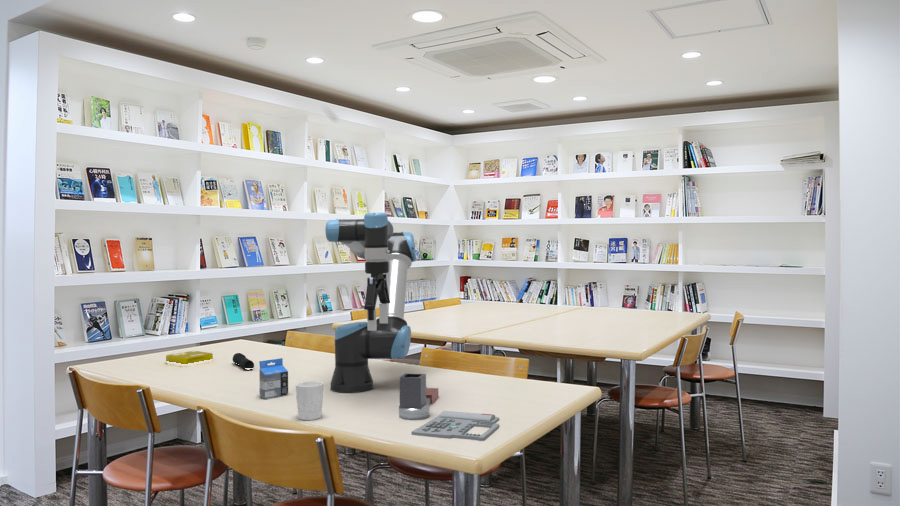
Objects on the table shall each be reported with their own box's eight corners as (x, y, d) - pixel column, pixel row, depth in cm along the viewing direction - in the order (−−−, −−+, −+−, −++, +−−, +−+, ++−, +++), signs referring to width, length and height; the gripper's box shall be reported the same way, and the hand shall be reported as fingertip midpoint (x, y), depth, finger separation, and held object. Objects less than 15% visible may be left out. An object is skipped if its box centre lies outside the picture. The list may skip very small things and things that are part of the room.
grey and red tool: (425, 420, 184) (425, 396, 184) (395, 419, 185) (395, 395, 185) (445, 397, 212) (445, 376, 212) (419, 396, 214) (419, 375, 214)
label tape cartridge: (264, 399, 212) (264, 362, 212) (259, 397, 215) (258, 361, 215) (288, 395, 218) (288, 359, 218) (283, 393, 221) (282, 357, 221)
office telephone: (443, 407, 192) (508, 412, 184) (444, 416, 192) (508, 421, 184) (411, 426, 170) (482, 433, 163) (411, 436, 170) (482, 443, 163)
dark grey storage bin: (421, 409, 185) (420, 378, 185) (399, 408, 187) (399, 377, 187) (426, 403, 192) (425, 373, 192) (405, 402, 193) (405, 373, 193)
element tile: (184, 368, 273) (184, 357, 273) (164, 365, 282) (164, 354, 282) (214, 362, 286) (214, 352, 286) (194, 359, 294) (194, 349, 294)
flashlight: (243, 363, 282) (243, 352, 282) (255, 370, 265) (255, 358, 265) (232, 364, 280) (231, 353, 280) (242, 372, 262) (242, 360, 262)
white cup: (298, 414, 193) (298, 381, 192) (325, 413, 193) (324, 380, 193) (294, 421, 185) (293, 387, 185) (322, 420, 185) (321, 386, 185)
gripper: (377, 263, 191) (378, 333, 192) (397, 258, 216) (398, 320, 217) (353, 263, 192) (354, 333, 193) (376, 258, 217) (377, 320, 218)
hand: (378, 326), depth 205 cm, fingers open, 13 cm apart
